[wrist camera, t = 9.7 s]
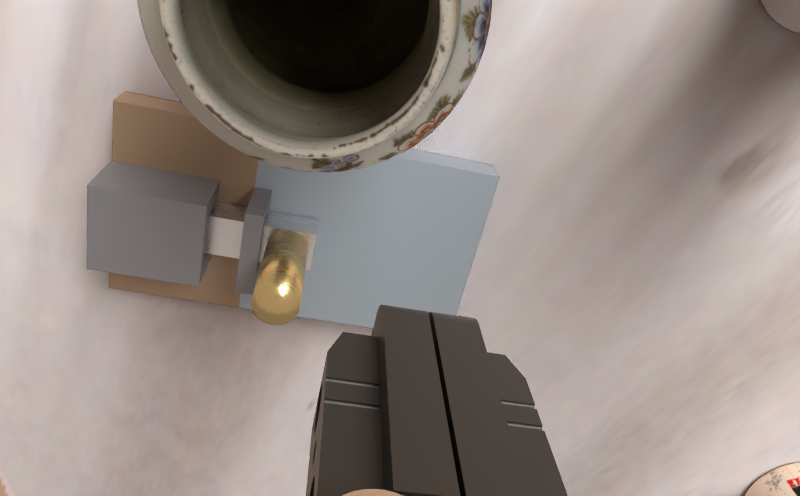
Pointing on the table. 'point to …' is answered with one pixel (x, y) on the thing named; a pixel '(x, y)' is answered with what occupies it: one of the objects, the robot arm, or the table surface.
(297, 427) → the table surface
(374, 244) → the door and jamb lock plate
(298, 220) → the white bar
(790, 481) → the teacup with lid
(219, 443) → the table surface
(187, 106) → the apothecary jar
